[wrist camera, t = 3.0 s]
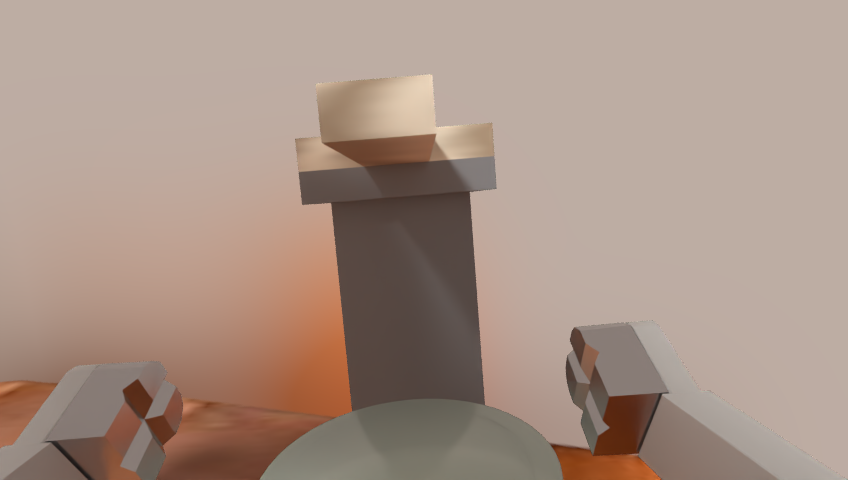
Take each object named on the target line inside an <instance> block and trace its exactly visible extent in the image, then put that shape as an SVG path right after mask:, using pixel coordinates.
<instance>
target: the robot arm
mask: <svg viewBox="0 0 848 480" xmlns="http://www.w3.org/2000/svg"><path fill="white" fill-rule="evenodd" d="M570 342H571V344H572V347H573V349H574V350H573V351H572V352H571V353H570V354H569V355H567V361H566V377H567V384H568V388H569V392H570V395H571V397H572V400H573V403H574V404H576V405H577V406H578V407H579V408H580V409H582V410H583V415H582V419H581V425H582V428H583V431H584V434H585V436H586V439H587V442H588V444H589V447H590V450H591V453H592V455H593V456H600V455H619V454H639V455H638V456H639V457H640V458H641V459H642V460H643V461H644V462H645V463H646V464H647V465H648V466H649V467H650V468H651V469H652V470H653V471H654V472H655V473H656V474H657V475H658V476H659V477H660V478H661V479H662V480H847V479H846V478H845V477H843V476H841V475H840V474H838V473H837V472H835V471H834V470H832V469H831V468H829V467H827V466H826V465H824V464H823V463H821V462H820V461H818V460H817V459H815V458H813V457H812V456H810V455H809V454H807V453H806V452H804V451H803V450H801V449H799V448H798V447H797V446H795V445H793V444H792V443H790V442H789V441H787V440H786V439H784V438H783V437H781V436H780V435H778V434H776V433H775V432H773V431H772V430H770V429H769V428H767V427H766V426H764V425H762V424H761V423H759V422H758V421H756V420H755V419H753V418H752V417H750V416H749V415H747V414H745V413H744V412H742V411H741V410H739V409H738V408H736V407H735V406H733V405H732V404H730V403H728V402H727V401H725V400H724V399H722V398H721V397H719V396H718V395H716V394H715V393H713V392H711V391H701V389H700V388H699V386H698V385H697V383H696V382H695V380H694V379H693V377H692V376H691V374H690V373H689V371H688V370H687V368H686V367H685V365H684V364H683V362H682V361H681V359H680V357H679V356H678V354H677V353H676V351H675V350H674V348H673V347H672V345H671V343H670V342H669V341H668V339H667V337H666V336H665V334H664V333H663V331H662V330H661V328H660V327H659V325H658V324H657V323H655V322H654V321H640V322H628V323H614V324H602V325H592V326H581V327H574V329H573V330H572V333H571V338H570ZM166 375H167V371H166V370H165V368H164V367H163V365H162V364H161V362H157V361H148V362H129V363H111V364H97V365H81V366H76V367H74V368H73V369H71V370H69V371H68V372H67V373H66V374H65V376H64V377H63V378H62V380H61V381H60V382H59V384H58V385H57V386H56V388H55V389H54V390H53V392H52V393H51V394H50V396H49V397H48V398H47V400H46V401H45V402H44V404H43V405H42V406H41V408H40V409H39V411H38V412H37V413H36V415H35V416H34V417H33V419H32V420H31V421H30V423H29V424H28V425H27V427H26V428H25V429H24V431H23V432H22V433H21V435H20V436H19V437H18V439H17V440H16V441H15V443H14V444H13V445H9V446H3V447H2V448H1V449H0V480H156V478H157V475H158V473H159V471H160V469H161V466H162V464H163V462H164V460H165V457H166V454H165V450H164V447H163V445H164V444H165V443H166V442H167V441H168V440H170V439H171V438H172V437H173V436H174V435H175V434H176V432H177V429H178V427H179V425H180V422H181V419H182V411H183V402H182V397H181V394H180V392H179V390H178V389H177V387H176V386H174V385H172V384H171V383H169V382H167V381H165V380H164V379H165V377H166Z"/></svg>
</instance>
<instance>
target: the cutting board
mask: <svg viewBox="0 0 848 480" xmlns="http://www.w3.org/2000/svg"><path fill="white" fill-rule="evenodd" d="M316 92H317V102H318V111H319V122H320V132H321V137H311V138H299V139H295V142H296V151H297V160H298V170H299V172H305V171H317V170H329V169H341V168H354V167H366V166H378V165H390V164H403V163H415V162H427V161H440V160H452V159H464V158H476V157H489V156H494V144H493V129H492V123H484V124H472V125H459V126H447V127H436V119H435V106H434V92H433V80H432V74H430V75H418V76H405V77H393V78H380V79H369V80H356V81H344V82H331V83H319V84H316Z"/></svg>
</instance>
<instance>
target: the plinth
mask: <svg viewBox="0 0 848 480" xmlns="http://www.w3.org/2000/svg"><path fill="white" fill-rule="evenodd" d="M299 179H300V189H301V198H302V204H303V205H305V204H322V203H331V204H332V215H333V225H334V235H335V245H336V254H337V265H338V275H339V283H340V294H341V304H342V314H343V324H344V334H345V344H346V354H347V364H348V374H349V384H350V394H351V404H352V411H356V410H359V409H362V408H366V407H370V406H374V405H378V404H383V403H389V402H395V401H403V400H412V399H450V400H460V401H467V402H472V403H477V404H482V405H485V401H484V387H483V374H482V359H481V345H480V331H479V318H478V303H477V289H476V277H475V276H476V275H475V262H474V247H473V233H472V219H471V205H470V192H473V191H481V190H490V189H496V174H495V159H494V156H489V157H476V158H464V159H452V160H440V161H427V162H415V163H403V164H390V165H378V166H366V167H354V168H341V169H329V170H317V171H305V172H299Z"/></svg>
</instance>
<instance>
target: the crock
mask: <svg viewBox="0 0 848 480" xmlns="http://www.w3.org/2000/svg"><path fill="white" fill-rule="evenodd" d="M260 480H563V475H562V470H561V465H560V462H559V460H558V457H557V455H556V453H555V451H554V450H553V448H552V447H551V445H550V444H549V442H548V441H547V440H546V439H545V438H544V437H543V436H542V435H541V434H540V433H539V432H538V431H537V430H535V429H534V428H533V427H532V426H530V425H529V424H527V423H526V422H524V421H522V420H521V419H519V418H517V417H515V416H513V415H511V414H509V413H506V412H504V411H501V410H499V409H496V408H493V407H489V406H486V405H482V404H477V403H472V402H467V401H460V400H450V399H412V400H403V401H395V402H389V403H383V404H378V405H374V406H370V407H366V408H362V409H359V410H356V411H352V412H350V413H347V414H344V415H342V416H339V417H337V418H334V419H332V420H330V421H327V422H325V423H323V424H321V425H320V426H318V427H316V428H314V429H312V430H310V431H309V432H307V433H306V434H304V435H302V436H301V437H299V438H298V439H297V440H295V441H294V442H293V443H291V444H290V445H289V446H288V447H287V448H285V449H284V450H283V451H282V452H281V453H280V454H279V455H278V456H277V457H276V458H275V459H274V460H273V462H272V463H271V464H270V465H269V466H268V468H267V469H266V471H265V472H264V474H263V475H262V477H261V478H260Z"/></svg>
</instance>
